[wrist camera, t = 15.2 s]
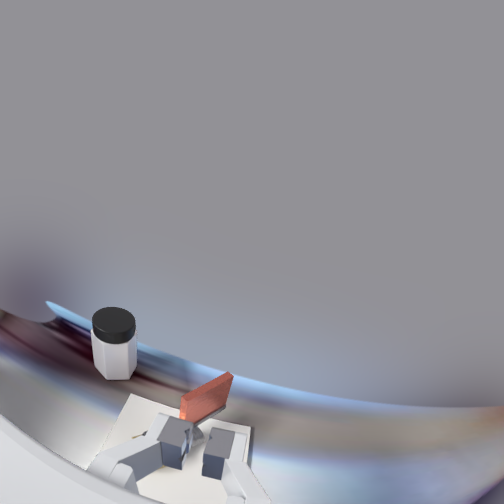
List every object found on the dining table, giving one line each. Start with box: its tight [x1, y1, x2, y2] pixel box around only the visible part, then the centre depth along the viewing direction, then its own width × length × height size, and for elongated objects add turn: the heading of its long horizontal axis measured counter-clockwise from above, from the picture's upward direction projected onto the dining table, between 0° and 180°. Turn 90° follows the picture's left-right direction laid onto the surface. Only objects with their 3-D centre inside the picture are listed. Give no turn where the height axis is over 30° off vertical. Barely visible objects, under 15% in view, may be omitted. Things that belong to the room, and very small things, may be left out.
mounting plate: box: [100, 394, 251, 504], centre depth 34 cm, size 22×20×1 cm
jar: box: [91, 307, 137, 380], centre depth 48 cm, size 9×8×12 cm
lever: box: [142, 372, 234, 436], centre depth 35 cm, size 16×4×8 cm, turn 140°
